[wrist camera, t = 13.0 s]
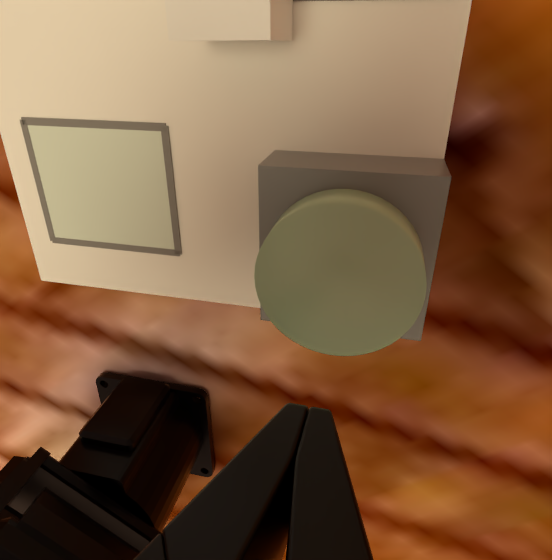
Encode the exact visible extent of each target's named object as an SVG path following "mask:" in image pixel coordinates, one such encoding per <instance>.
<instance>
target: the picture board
mask: <svg viewBox="0 0 552 560" xmlns="http://www.w3.org/2000/svg"><path fill="white" fill-rule="evenodd" d="M471 3H472V0H293V26H292V41H169V38H168V28H167V19H166V9H165V0H0V133H1V137H2V140H3V144H4V147H5V151H6V155H7V158H8V162H9V165H10V169H11V173H12V176H13V180H14V183H15V187H16V191H17V194H18V198H19V201H20V205H21V209H22V212H23V216H24V220H25V223H26V227H27V230H28V234H29V238H30V241H31V245H32V248H33V252H34V256H35V259H36V263H37V266H38V270H39V274H40V277H41V280H42V281H50V282H58V283H66V284H74V285H82V286H90V287H98V288H106V289H113V290H121V291H129V292H137V293H145V294H153V295H161V296H169V297H177V298H185V299H192V300H200V301H208V302H216V303H224V304H232V305H240V306H248V307H256V308H260V301H259V299H258V296H257V292H256V288H255V279H254V273H255V264H256V259H257V256H258V253H259V194H258V165H259V164H260V163H261V162H262V161H263V160H264V159H266V158H267V157H268V156H269V155H270V154H271V153H272V152H273V151H274V150H285V151H304V152H323V153H342V154H361V155H380V156H399V157H418V158H437V159H444V156H445V151H446V145H447V139H448V134H449V128H450V122H451V117H452V111H453V105H454V100H455V94H456V88H457V83H458V77H459V71H460V66H461V60H462V54H463V49H464V43H465V37H466V32H467V26H468V20H469V15H470V9H471Z"/></svg>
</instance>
